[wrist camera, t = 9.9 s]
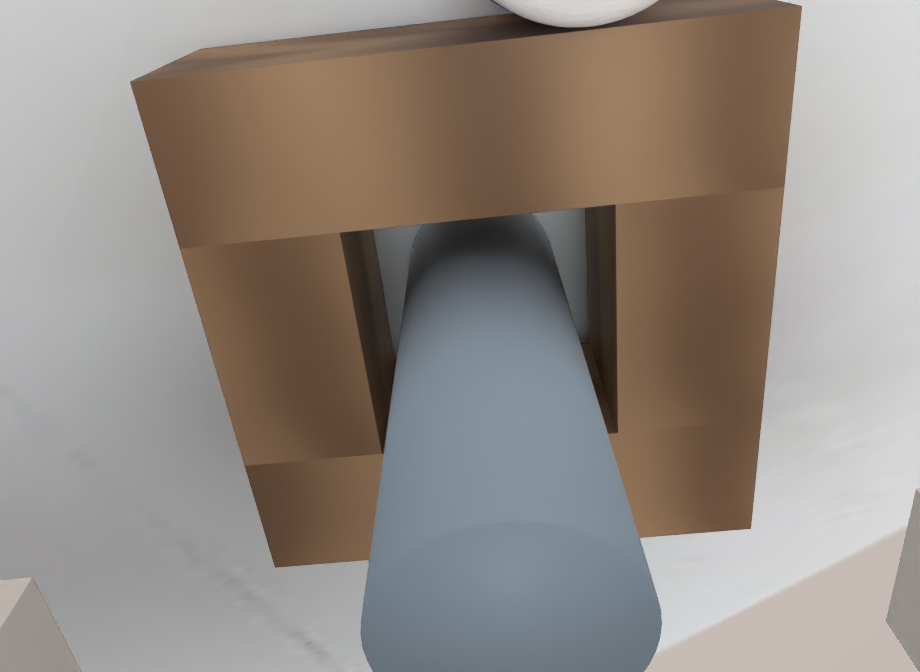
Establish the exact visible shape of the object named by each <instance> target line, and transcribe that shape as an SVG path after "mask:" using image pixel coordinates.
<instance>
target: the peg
mask: <svg viewBox="0 0 920 672" xmlns="http://www.w3.org/2000/svg"><path fill="white" fill-rule="evenodd" d="M661 625H662V621H661V609H660V605H659V601H658V597H657V594H656V591H655V587H654V584H653V581H652V578H651V574H650V571H649V568H648V564H647V561H646V558H645V554H644V551H643V548H642V545H641V541H640V538H639V535H638V531H637V528H636V525H635V522H634V518H633V515H632V512H631V508H630V505H629V502H628V498H627V495H626V492H625V489H624V485H623V482H622V479H621V475H620V472H619V469H618V466H617V462H616V459H615V456H614V452H613V449H612V446H611V443H610V439H609V436H608V433H607V429H606V426H605V423H604V419H603V416H602V413H601V410H600V406H599V403H598V400H597V396H596V393H595V390H594V387H593V383H592V380H591V377H590V373H589V370H588V367H587V363H586V360H585V357H584V354H583V350H582V347H581V344H580V340H579V337H578V334H577V331H576V327H575V324H574V321H573V317H572V314H571V311H570V307H569V304H568V301H567V298H566V294H565V291H564V288H563V284H562V281H561V278H560V275H559V271H558V268H557V265H556V261H555V258H554V255H553V252H552V248H551V245H550V242H549V239H548V237H547V234H546V232H545V231H544V229H543V227H542V226H541V224H540V223H539V222H538V221H537V220H536V218H535V217H534V216H532V215H531V214H530V213H527V214H517V215H507V216H498V217H488V218H478V219H468V220H459V221H449V222H439V223H429V224H424V225H423V226H422V228H421V229H420V231H419V233H418V234H417V236H416V238H415V241H414V244H413V247H412V252H411V257H410V265H409V272H408V279H407V287H406V294H405V301H404V309H403V316H402V324H401V331H400V338H399V346H398V353H397V360H396V368H395V375H394V383H393V390H392V397H391V405H390V412H389V419H388V427H387V434H386V441H385V449H384V456H383V464H382V471H381V478H380V486H379V493H378V500H377V508H376V515H375V523H374V530H373V537H372V545H371V552H370V559H369V567H368V574H367V581H366V589H365V596H364V604H363V611H362V618H361V639H362V646H363V650H364V653H365V656H366V659H367V661H368V663H369V665H370V667H371V668H372V670H373V672H644V671H645V669H646V668H647V666H648V665H649V664H650V662H651V660H652V658H653V656H654V654H655V652H656V649H657V646H658V643H659V639H660V634H661Z"/></svg>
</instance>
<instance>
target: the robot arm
mask: <svg viewBox="0 0 920 672" xmlns="http://www.w3.org/2000/svg"><path fill="white" fill-rule="evenodd" d="M886 621H887V623H888V625H889V626H890V628H891V629H892V631H893V632H894V634H895V636H896V637H897V639H898V640H899V642H900V643H901V644H902V646H903V648H904V649H905V651H906V652H907V654H908V656H909V657H910V659H911V660H912V662H913V663H914V665H915V666H916V668H917V669H918V671H919V672H920V488H919V489H916V492H915V496H914V501H913V505H912V509H911V514H910V518H909V523H908V527H907V532H906V536H905V540H904V545H903V549H902V553H901V558H900V563H899V567H898V571H897V575H896V580H895V584H894V589H893V593H892V597H891V602H890V606H889V611H888V615H887V619H886ZM0 672H81V671H80V669H79V667H78V665H77V663H76V661H75V659H74V657H73V655H72V653H71V651H70V649H69V647H68V645H67V643H66V641H65V639H64V637H63V635H62V633H61V631H60V629H59V627H58V625H57V623H56V622H55V620H54V618H53V616H52V614H51V612H50V610H49V608H48V606H47V604H46V602H45V600H44V598H43V596H42V594H41V592H40V590H39V588H38V586H37V584H36V582H35V580H34V578H33V577H25V578H15V579H5V580H0Z"/></svg>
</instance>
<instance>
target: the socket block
mask: <svg viewBox="0 0 920 672" xmlns="http://www.w3.org/2000/svg"><path fill="white" fill-rule="evenodd" d="M801 10H802V6H800V5H795V4H791V3H786V2H782V1H777V0H659V1H657V2H656V3H654V4H652V5H651V6H649V7H648V8H646V9H644V10H642V11H640V12H638V13H636V14H634V15H632V16H629V17H627V18H624V19H622V20H618V21H615V22H612V23H608V24H603V25H599V26H591V27H570V28H568V27H558V26H551V25H546V24H542V23H538V22H535V21H532V20H529V19H526V18H523V17H521V16H519V15H517V14H515V13H511V14H502V15H493V16H485V17H476V18H467V19H458V20H450V21H441V22H432V23H424V24H415V25H406V26H397V27H389V28H380V29H371V30H362V31H354V32H345V33H336V34H327V35H319V36H310V37H301V38H292V39H284V40H275V41H266V42H257V43H249V44H240V45H231V46H223V47H214V48H205V49H199V50H197V51H195V52H193V53H191V54H189V55H187V56H184V57H182V58H180V59H178V60H176V61H174V62H172V63H169V64H167V65H165V66H163V67H161V68H159V69H157V70H154V71H152V72H150V73H148V74H146V75H144V76H142V77H139V78H137V79H135V80H133V81H131V82H130V83H131V86H132V90H133V93H134V96H135V100H136V103H137V106H138V110H139V113H140V116H141V120H142V123H143V127H144V130H145V133H146V137H147V140H148V143H149V147H150V150H151V153H152V157H153V160H154V163H155V167H156V170H157V173H158V177H159V180H160V183H161V187H162V190H163V194H164V197H165V200H166V204H167V207H168V210H169V214H170V217H171V220H172V224H173V227H174V230H175V234H176V237H177V240H178V244H179V247H180V250H181V254H182V257H183V260H184V264H185V267H186V271H187V274H188V277H189V281H190V284H191V287H192V291H193V294H194V297H195V301H196V304H197V307H198V311H199V314H200V317H201V321H202V324H203V327H204V331H205V334H206V338H207V341H208V344H209V348H210V351H211V354H212V358H213V361H214V364H215V368H216V371H217V374H218V378H219V381H220V384H221V388H222V391H223V394H224V398H225V401H226V405H227V408H228V411H229V415H230V418H231V421H232V425H233V428H234V431H235V435H236V438H237V441H238V445H239V448H240V451H241V455H242V458H243V461H244V465H245V468H246V472H247V475H248V478H249V482H250V485H251V488H252V492H253V495H254V498H255V502H256V505H257V508H258V512H259V515H260V518H261V522H262V525H263V528H264V532H265V535H266V539H267V542H268V545H269V549H270V552H271V555H272V559H273V562H274V565H275V567H287V566H300V565H312V564H324V563H336V562H349V561H361V560H369V559H370V552H371V545H372V537H373V530H374V523H375V515H376V508H377V500H378V493H379V486H380V478H381V471H382V464H383V456H384V449H385V441H386V434H387V427H388V419H389V412H390V405H391V397H392V390H393V383H394V375H395V368H396V362H395V359H394V353H393V347H392V341H391V335H390V329H389V323H388V317H387V311H386V305H385V300H384V294H383V288H382V282H381V276H380V270H379V264H378V258H377V252H376V246H375V240H374V234H373V229H380V228H390V227H400V226H410V225H419V224H429V223H439V222H449V221H459V220H468V219H478V218H488V217H498V216H507V215H517V214H527V213H537V212H547V211H556V210H566V209H576V208H585V213H586V247H587V282H588V316H589V344H581V347H582V350H583V354H584V357H585V360H586V363H587V367H588V370H589V373H590V377H591V380H592V383H593V387H594V390H595V393H596V396H597V400H598V403H599V406H600V410H601V413H602V416H603V419H604V423H605V426H606V429H607V433H608V436H609V439H610V443H611V446H612V449H613V452H614V456H615V459H616V462H617V466H618V469H619V472H620V475H621V479H622V482H623V485H624V489H625V492H626V495H627V498H628V502H629V505H630V508H631V512H632V515H633V518H634V522H635V525H636V528H637V531H638V535H639V538H642V537H655V536H667V535H679V534H691V533H703V532H716V531H728V530H740V529H751V521H752V511H753V501H754V491H755V480H756V470H757V460H758V450H759V440H760V429H761V419H762V409H763V399H764V388H765V378H766V368H767V358H768V347H769V337H770V327H771V317H772V307H773V296H774V286H775V276H776V266H777V255H778V245H779V235H780V225H781V214H782V204H783V194H784V184H785V173H786V163H787V153H788V143H789V133H790V122H791V112H792V102H793V92H794V81H795V71H796V61H797V51H798V41H799V30H800V20H801Z"/></svg>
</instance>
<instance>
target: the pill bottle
mask: <svg viewBox="0 0 920 672" xmlns="http://www.w3.org/2000/svg"><path fill="white" fill-rule="evenodd" d="M491 1H492V2H494V3H495V4H497V5H499V6H501V7H503V8H505V9H506V10H508V11H510V12H512V13H515V14H517V15H519V16H521V17H523V18H526V19H529V20H532V21H535V22H538V23H542V24H546V25H551V26H558V27H568V28H570V27H591V26H599V25H603V24H608V23H612V22H615V21H618V20H622V19H624V18H627V17H629V16H632V15H634V14H636V13H638V12H640V11H642V10H644V9H646V8H648V7H649V6H651V5H652V4H654V3H656V2H657V1H659V0H491Z"/></svg>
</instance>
